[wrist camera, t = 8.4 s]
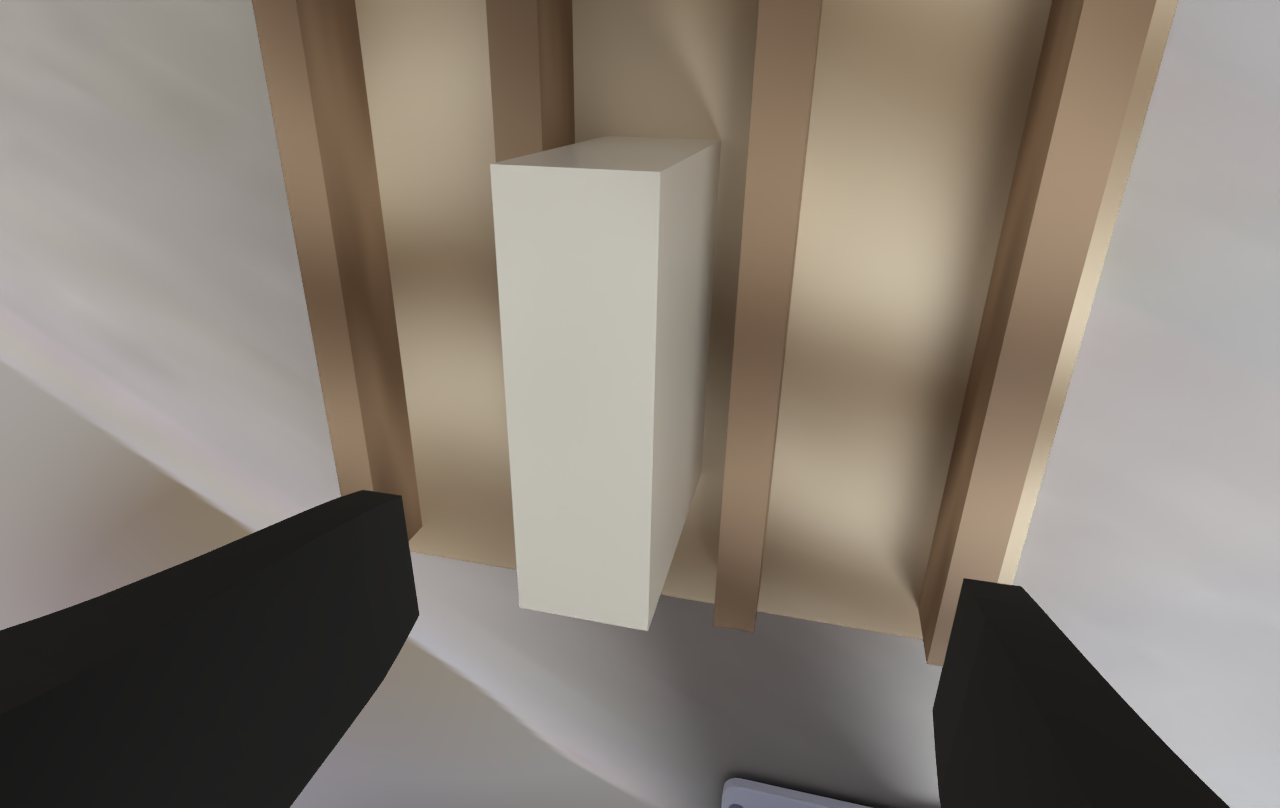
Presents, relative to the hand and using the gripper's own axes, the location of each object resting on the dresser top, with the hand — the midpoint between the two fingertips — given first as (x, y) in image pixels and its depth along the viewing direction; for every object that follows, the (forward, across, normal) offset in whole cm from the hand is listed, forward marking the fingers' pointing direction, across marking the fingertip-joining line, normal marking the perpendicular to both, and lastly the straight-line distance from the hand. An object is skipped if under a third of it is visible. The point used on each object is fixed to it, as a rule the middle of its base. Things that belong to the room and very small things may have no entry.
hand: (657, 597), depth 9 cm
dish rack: (+9, +2, -1) cm, 10 cm away
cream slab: (+9, +2, -1) cm, 9 cm away
